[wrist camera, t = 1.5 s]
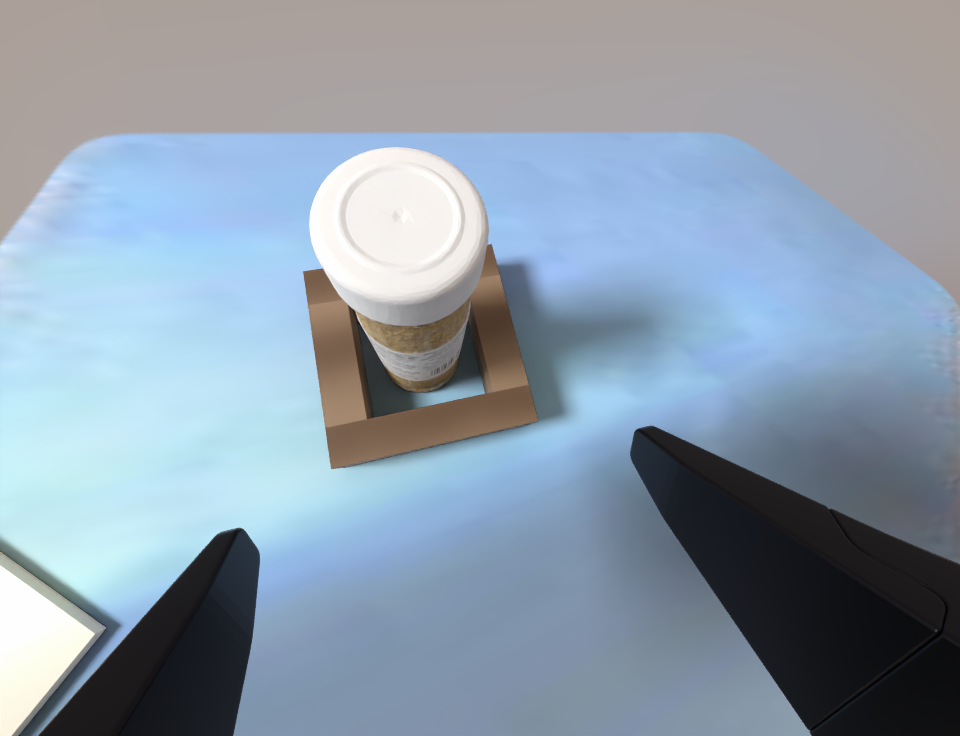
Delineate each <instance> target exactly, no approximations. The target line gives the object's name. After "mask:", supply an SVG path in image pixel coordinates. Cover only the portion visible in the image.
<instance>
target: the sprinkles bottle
mask: <svg viewBox="0 0 960 736" xmlns="http://www.w3.org/2000/svg"><path fill="white" fill-rule="evenodd" d="M488 234H489V227H488V217H487V212H486V209H485V206H484V203H483V200H482V198H481V196H480V194H479V192H478V191H477V189H476V188H475V186H474V185H473V184H472V182H471V181H470V180H469V179H468V178H467V176H466V175H465V174H464V173H463V172H461V171H460V170H459V169H458V168H457V167H455V166H454V165H452V164H451V163H449V162H448V161H446V160H445V159H443V158H441V157H439V156H436V155H434V154H431V153H428V152H425V151H421V150H416V149H411V148H402V147H389V148H382V149H375V150H371V151H367V152H365V153H362V154H360V155H357V156H355V157H353V158H351V159H349V160H347V161H346V162H344V163H343V164H341V165H340V166H339V167H337V168H336V169H335V170H334V171H333V172H332V173H331V174H329V176H328V177H327V178H326V179H325V181H324V182H323V183H322V185H321V186H320V188H319V190H318V192H317V194H316V196H315V198H314V201H313V204H312V207H311V212H310V236H311V241H312V245H313V248H314V250H315V253H316V256H317V258H318V260H319V262H320V264H321V265H322V267H323V269H324V271H325V273H326V275H327V276H328V278H329V280H330V281H331V283H332V285H333V287H334V288H335V290H336V291H337V293H338V294H339V295H340V297H341V298H342V299H343V300H344V301H345V302H346V303H347V304H348V305H349V306H350V307H351V308H353V309H354V310H355V312H356V315H357V318H358V320H359V322H360V324H361V326H362V328H363V329H364V331H365V333H366V335H367V336H368V338H369V340H370V342H371V343H372V345H373V347H374V349H375V351H376V352H377V354H378V356H379V358H380V360H381V361H382V363H383V364H384V367H385V370H386V372H387V374H388V375H389V376H390V378H391V380H392V381H393V382H394V383H396V384H397V385H398V386H400V387H402V388H403V389H405V390H407V391H412V392H418V393H421V392H429V391H433V390H436V389H438V388H440V387H441V386H443V385H445V384H446V382H447V381H449V380H450V379H451V378H452V376H453V375H454V373H455V371H456V369H457V366H458V361H459V354H460V351H461V347H462V342H463V338H464V334H465V330H466V325H467V321H468V316H469V311H470V297H471V294H472V293H473V291H474V290H475V288H476V286H477V284H478V282H479V279H480V276H481V273H482V269H483V264H484V260H485V254H486V249H487V243H488Z"/></svg>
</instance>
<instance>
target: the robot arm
mask: <svg viewBox="0 0 960 736" xmlns="http://www.w3.org/2000/svg"><path fill="white" fill-rule="evenodd" d="M630 456H631V460H632V462H633V464H634V466H635V468H636V470H637V471H638V473H639V475H640V477H641V479H642V481H643V482H644V484H645V486H646V488H647V490H648V492H649V493H650V495H651V497H652V499H653V501H654V502H655V504H656V506H657V508H658V510H659V511H660V513H661V515H662V516H663V518H664V520H665V521H666V523H667V524H668V526H669V527H670V529H671V530H672V532H673V533H674V535H675V536H676V537H677V539H678V540H679V542H680V543H681V545H682V546H683V548H684V549H685V551H686V552H687V554H688V555H689V556H690V558H691V559H692V561H693V562H694V564H695V565H696V567H697V568H698V570H699V571H700V573H701V574H702V575H703V577H704V578H705V580H706V581H707V583H708V584H709V586H710V587H711V589H712V590H713V592H714V593H715V594H716V596H717V597H718V599H719V600H720V602H721V603H722V605H723V606H724V608H725V609H726V611H727V612H728V613H729V615H730V616H731V618H732V619H733V621H734V622H735V624H736V625H737V627H738V628H739V630H740V631H741V632H742V634H743V635H744V637H745V638H746V640H747V641H748V643H749V644H750V646H751V647H752V649H753V650H754V651H755V653H756V654H757V656H758V657H759V659H760V660H761V662H762V663H763V665H764V666H765V668H766V669H767V670H768V672H769V673H770V675H771V676H772V678H773V679H774V681H775V682H776V684H777V685H778V687H779V688H780V689H781V691H782V692H783V694H784V695H785V697H786V698H787V700H788V701H789V703H790V704H791V706H792V707H793V708H794V710H795V711H796V713H797V714H798V716H799V717H800V719H801V720H802V722H803V723H804V725H805V726H806V727H807V729H808V730H810V734H811V735H812V736H960V564H958V563H955V562H953V561H951V560H948V559H946V558H943V557H941V556H938V555H936V554H933V553H931V552H929V551H926V550H924V549H921V548H919V547H917V546H914V545H912V544H909V543H907V542H905V541H902V540H900V539H898V538H895V537H893V536H890V535H888V534H886V533H884V532H882V531H879V530H877V529H875V528H873V527H870V526H868V525H866V524H864V523H862V522H859V521H857V520H855V519H853V518H851V517H848V516H846V515H844V514H842V513H840V512H838V511H835V510H833V509H828V508H827V507H826V506H824V505H822V504H820V503H818V502H816V501H814V500H812V499H809V498H807V497H805V496H803V495H801V494H799V493H797V492H794V491H792V490H790V489H788V488H786V487H784V486H781V485H779V484H777V483H775V482H773V481H771V480H769V479H766V478H764V477H762V476H760V475H758V474H756V473H754V472H751V471H749V470H747V469H745V468H743V467H741V466H738V465H736V464H734V463H732V462H730V461H728V460H726V459H723V458H721V457H719V456H717V455H715V454H713V453H711V452H708V451H706V450H704V449H702V448H700V447H698V446H696V445H693V444H691V443H689V442H687V441H685V440H683V439H680V438H678V437H676V436H674V435H672V434H670V433H668V432H665V431H663V430H661V429H659V428H657V427H654V426H646V427H642V428H638V429H636V431H635V432H634V436H633V441H632V446H631V451H630ZM259 566H260V554H259V551H258V549H257V547H256V546H255V544H254V543H253V541H252V540H251V538H250V537H249V536H248V534H247V533H246V531H245V530H244V529H242V528H235V529H231V530H227V531H223V532H220V533H219V534H217V535H216V536H215V537H214V538H213V539H212V540H211V541H210V542H209V544H208V545H207V546H206V547H205V548H204V549H203V550H202V551H201V553H200V554H199V555H198V556H197V557H196V558H195V559H194V561H193V562H192V563H191V564H190V565H189V566H188V567H187V568H186V570H185V571H184V572H183V573H182V574H181V575H180V576H179V577H178V579H177V580H176V581H175V582H174V583H173V584H172V585H171V586H170V588H169V589H168V590H167V591H166V592H165V593H164V594H163V595H162V597H161V598H160V599H159V600H158V601H157V602H156V603H155V604H154V606H153V607H152V608H151V609H150V610H149V611H148V612H147V613H146V615H145V616H144V617H143V618H142V619H141V620H140V621H139V622H138V624H137V625H136V626H135V627H134V628H133V629H132V630H131V631H130V633H129V634H128V635H127V636H126V637H125V638H124V639H123V640H122V642H121V643H120V644H119V645H118V646H117V647H116V648H115V649H114V651H113V652H112V653H111V654H110V655H109V656H108V657H107V658H106V660H105V661H104V662H103V663H102V664H101V665H100V666H99V667H98V669H97V670H96V671H95V672H94V673H93V674H92V675H91V676H90V678H89V679H88V680H87V681H86V682H85V683H84V684H83V685H82V687H81V688H80V689H79V690H78V691H77V692H76V693H75V694H74V696H73V697H72V698H71V699H70V700H69V701H68V702H67V703H66V705H65V706H64V707H63V708H62V709H61V710H60V711H59V712H58V714H57V715H56V716H55V717H54V718H53V719H52V720H51V721H50V723H49V724H48V725H47V726H46V727H45V728H44V729H43V730H42V732H41V733H40V734H39V735H38V736H233V734H234V729H235V724H236V719H237V714H238V709H239V704H240V699H241V694H242V689H243V684H244V679H245V674H246V669H247V664H248V659H249V654H250V649H251V643H252V637H253V629H254V619H255V608H256V598H257V587H258V576H259Z"/></svg>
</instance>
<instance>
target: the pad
mask: <svg viewBox="0 0 960 736" xmlns="http://www.w3.org/2000/svg"><path fill="white" fill-rule="evenodd" d="M105 629H106V627H105V626H103V625H102V624H100V623H99V622H98V621H96V620H95V619H93V618H92V617H91V616H89V615H88V614H86V613H85V612H84V611H82V610H81V609H80V608H78V607H77V606H75V605H74V604H73V603H71V602H70V601H68V600H67V599H66V598H64V597H63V596H61V595H60V594H59V593H57V592H56V591H54V590H53V589H52V588H50V587H49V586H47V585H46V584H45V583H43V582H42V581H40V580H39V579H38V578H36V577H35V576H33V575H32V574H31V573H29V572H28V571H27V570H25V569H24V568H22V567H21V566H20V565H18V564H17V563H15V562H14V561H13V560H11V559H10V558H8V557H7V556H6V555H4V554H3V553H1V552H0V736H19V735H20V733H21V732H22V731H23V730H24V728H25V727H26V726H27V725H28V724H29V722H30V721H31V720H32V719H33V717H34V716H35V715H36V714H37V713H38V711H39V710H40V709H41V708H42V706H43V705H44V704H45V703H46V702H47V700H48V699H49V698H50V697H51V695H52V694H53V693H54V692H55V690H56V689H57V688H58V687H59V686H60V684H61V683H62V682H63V681H64V679H65V678H66V677H67V676H68V675H69V673H70V672H71V671H72V670H73V668H74V667H75V666H76V665H77V664H78V662H79V661H80V660H81V659H82V657H83V656H84V655H85V654H86V653H87V651H88V650H89V649H90V648H91V646H92V645H93V644H94V643H95V641H96V640H97V639H98V638H99V637H100V635H101V634H102V633H103V632H104V630H105Z"/></svg>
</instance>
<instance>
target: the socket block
mask: <svg viewBox="0 0 960 736" xmlns="http://www.w3.org/2000/svg"><path fill="white" fill-rule="evenodd" d="M303 273H304V280H305V287H306V294H307V301H308V308H309V316H310V323H311V330H312V337H313V344H314V351H315V358H316V365H317V372H318V379H319V386H320V393H321V400H322V407H323V414H324V422H325V429H326V436H327V443H328V450H329V457H330V464H331V469H336V468H345V467H349V466H353V465H358V464H362V463H366V462H371V461H375V460H379V459H383V458H388V457H392V456H396V455H401V454H405V453H409V452H413V451H418V450H422V449H426V448H431V447H435V446H439V445H444V444H448V443H452V442H456V441H461V440H465V439H469V438H474V437H478V436H482V435H486V434H491V433H495V432H499V431H504V430H508V429H512V428H517V427H521V426H525V425H529V424H531V423H534V422H537V421H538V418H537V414H536V410H535V406H534V403H533V399H532V395H531V391H530V387H529V384H528V380H527V376H526V372H525V369H524V365H523V361H522V357H521V353H520V350H519V346H518V342H517V338H516V335H515V331H514V327H513V323H512V320H511V316H510V312H509V308H508V304H507V301H506V297H505V293H504V289H503V286H502V282H501V278H500V274H499V270H498V267H497V263H496V259H495V255H494V252H493V248H492V244H490V245H487V249H486V254H485V260H484V264H483V269H482V273H481V276H480V279H479V282H478V284H477V286H476V288H475V290H474V291H473V293H472V294H471V297H470V311H469V316H468V323H469V327H470V331H471V335H472V339H473V344H474V348H475V352H476V356H477V360H478V365H479V369H480V373H481V377H482V381H483V386H484V390H485V394H482V395H478V396H473V397H468V398H464V399H459V400H454V401H450V402H445V403H440V404H436V405H431V406H426V407H422V408H417V409H412V410H407V411H403V412H398V413H393V414H389V415H384V416H379V417H375V418H374V417H373V411H372V405H371V399H370V393H369V387H368V381H367V376H366V370H365V364H364V358H363V352H362V346H361V340H360V334H359V329H358V323H357V317H356V316H357V315H356V312H355V310H354V309H353V308H351V307H350V306H349V305H348V304H347V303H346V302H345V301H344V300H343V299H342V298H341V297H340V295H339V294H338V293H337V291H336V290H335V288H334V287H333V285H332V283H331V281H330V280H329V278H328V276H327V275H326V273H325V271H324V269H317V270H310V271H303Z"/></svg>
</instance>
